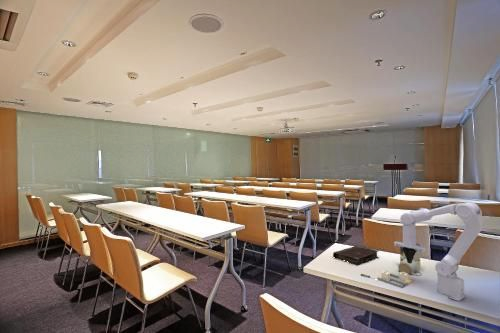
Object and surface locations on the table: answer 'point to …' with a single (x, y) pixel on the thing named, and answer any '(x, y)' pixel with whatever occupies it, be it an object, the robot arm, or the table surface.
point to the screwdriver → (367, 276)
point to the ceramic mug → (409, 267)
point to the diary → (356, 255)
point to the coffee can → (415, 258)
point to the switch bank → (401, 282)
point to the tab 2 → (403, 276)
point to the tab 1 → (385, 275)
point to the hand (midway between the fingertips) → (409, 262)
